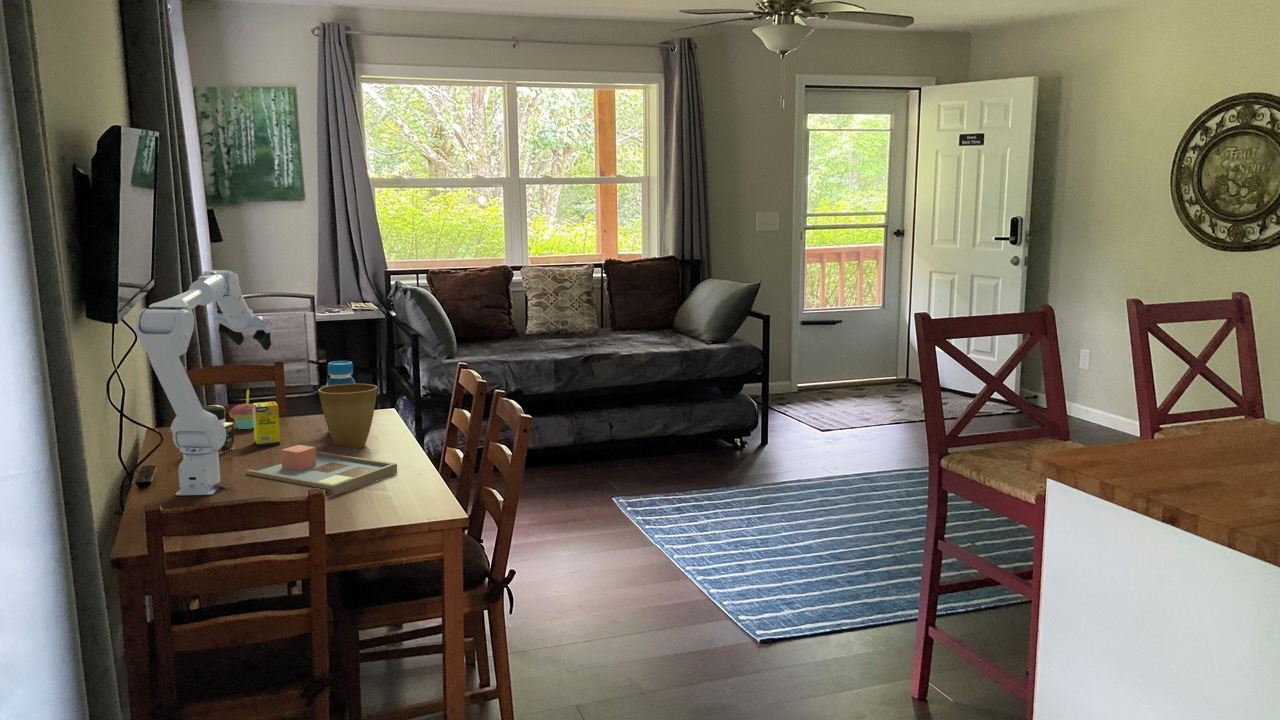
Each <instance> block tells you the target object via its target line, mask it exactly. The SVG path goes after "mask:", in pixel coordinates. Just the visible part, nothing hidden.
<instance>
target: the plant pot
mask: <svg viewBox="0 0 1280 720" xmlns="http://www.w3.org/2000/svg"><path fill="white" fill-rule="evenodd" d="M377 393H378V386H377V385H375V384H369V383H368V384H367V383H356V384H340V385H332V386H323V387H320V388H319V389H318V395H319V400H320V404H321V408H322V412H323V413H322V414H323V416H324V420H325V422H326V423H325V424H326V426H327V430H328V429H329V432H330V433H329V432H328V433H329V434H330V437H331V439H332V441H333V443H334V446H338V447H339V446H340V447H345V448H352V449H357V450H358V449H361V448H364V447H365V446H366V443H367V440H368V437H369V434H370V431H371V427H372V424H373V418H374V414H375V407H376V401H377Z"/></svg>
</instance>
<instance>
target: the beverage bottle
mask: <svg viewBox="0 0 1280 720" xmlns="http://www.w3.org/2000/svg"><path fill="white" fill-rule="evenodd" d="M327 373H328V376H330V377H329V378H328V380H327V381H326V386H332V385H340V384H357V382H356V381H355V379H354V378H353V376H352V375H353V373H354V364H353V362H352V361H349V360H337V361H336V360H335V361H330V362H328V363H327ZM326 386H325V387H326ZM327 432H328V433H329V434H330V432H329V429H328V428H327Z"/></svg>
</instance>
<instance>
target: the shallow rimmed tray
mask: <svg viewBox="0 0 1280 720" xmlns="http://www.w3.org/2000/svg"><path fill="white" fill-rule="evenodd" d="M329 464H337V465H343V466H345V467H342V468H339V469H335V470H333V471H330V472H323V471H318V470H313V469H316V468H319V467H323V466H326V465H329ZM357 468H362V469H368V470H371V471H367V472H365V473H362V474H359V475H355V476H346V475H340V474H341V473H346V472H348V471H351V470H353V469H357ZM245 473H246V474H245V475H248V476H254V477H259V478H265V479H268V480H269V479H270V480H276V481H280V482H281V481H282V482H287V483H292V484H297V485H303V486H309V487H313V488H320V489H325V494H326V495H325V496H329V495H331V496H330V497H335V496H334V495H336V496H338V495H337V494H339V495H341V494H340V493H342V494H344V493H343V492H345V491H347V492H349V491H348V490H350V491H352V490H351V489H353V488H356V489H358V488H360V487H359V486H361V487H363V486H362V485H364V486H366V485H365V484H367V485H369V484H371V483H370V482H372V483H374V482H373V481H375V482H377V481H376V480H378V481H380V480H382V478H383V479H385V477H386V478H389V477H391V476H393V475H392V474H394V473H397V474H398V464H397V463H394V462H388V461H382V460H376V459H369V458H364V457H356V456H350V455H345V454H344V455H343V454H338V453H331V452H326V451H320V450H316V466H313V467H310V468H307V469H304V470H301V471H296V470H291V469H285V468H282V463H279V464H275V465H273V466H269V467H265V468H262V469H259V470H255V469H247V470H245ZM390 475H391V476H390ZM394 475H395V474H394ZM388 476H389V477H388ZM379 479H380V480H379ZM368 483H369V484H368ZM357 487H358V488H357ZM353 490H354V489H353ZM345 493H346V492H345ZM332 495H333V496H332Z"/></svg>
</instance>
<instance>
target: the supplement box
mask: <svg viewBox="0 0 1280 720" xmlns="http://www.w3.org/2000/svg"><path fill="white" fill-rule="evenodd" d="M251 404H252V409H253V424H254V429H253V439H254V444H255V445H256V447H258V446H260V447H267V446H279V445H281V432H280V431H281V430H280V417H279V416H280V413H279V411H280V410H279V404H278V403H277V402H276V401H265V402H254V403H251Z"/></svg>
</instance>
